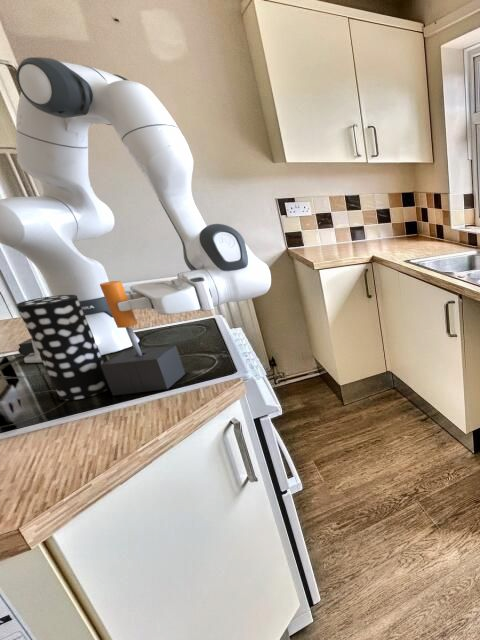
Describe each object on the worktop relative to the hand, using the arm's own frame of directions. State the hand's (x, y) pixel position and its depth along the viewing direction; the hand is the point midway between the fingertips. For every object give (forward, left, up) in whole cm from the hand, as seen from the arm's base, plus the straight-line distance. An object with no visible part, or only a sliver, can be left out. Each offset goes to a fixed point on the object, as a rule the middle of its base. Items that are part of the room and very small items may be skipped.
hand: (114, 305), depth 85 cm
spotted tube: (-11, +1, -18) cm, 21 cm away
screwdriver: (+1, +1, -13) cm, 13 cm away
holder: (+1, +1, -18) cm, 18 cm away
